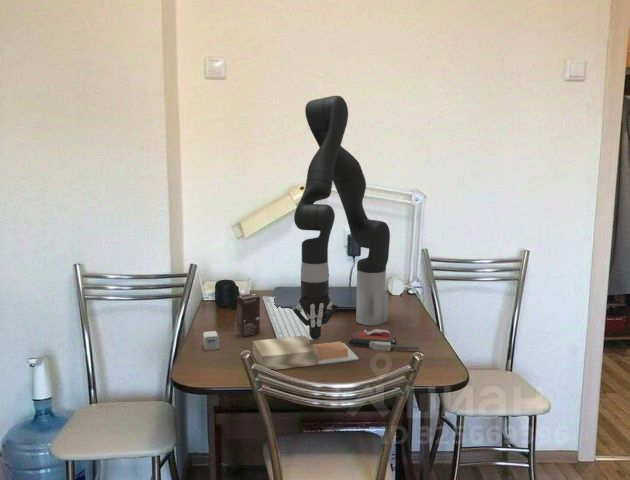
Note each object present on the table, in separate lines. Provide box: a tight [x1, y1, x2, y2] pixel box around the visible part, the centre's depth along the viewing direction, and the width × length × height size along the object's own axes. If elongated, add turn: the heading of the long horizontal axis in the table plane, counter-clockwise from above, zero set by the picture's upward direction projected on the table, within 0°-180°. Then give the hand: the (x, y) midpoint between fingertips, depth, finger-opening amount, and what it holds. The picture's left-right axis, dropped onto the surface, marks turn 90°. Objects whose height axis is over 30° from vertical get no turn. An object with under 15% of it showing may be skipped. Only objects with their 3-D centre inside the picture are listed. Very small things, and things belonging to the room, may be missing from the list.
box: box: [236, 293, 261, 338], centre depth 183 cm, size 6×4×12 cm
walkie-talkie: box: [348, 328, 420, 352], centre depth 174 cm, size 9×4×20 cm
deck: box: [252, 336, 318, 371], centre depth 164 cm, size 15×12×4 cm
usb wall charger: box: [202, 330, 220, 351], centre depth 174 cm, size 4×7×4 cm, turn 15°
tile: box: [313, 341, 349, 360], centre depth 166 cm, size 9×6×2 cm, turn 108°
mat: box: [318, 342, 360, 365], centre depth 168 cm, size 12×12×1 cm
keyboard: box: [262, 295, 319, 342], centre depth 198 cm, size 44×12×2 cm, turn 10°
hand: (314, 338), depth 165 cm, fingers closed
